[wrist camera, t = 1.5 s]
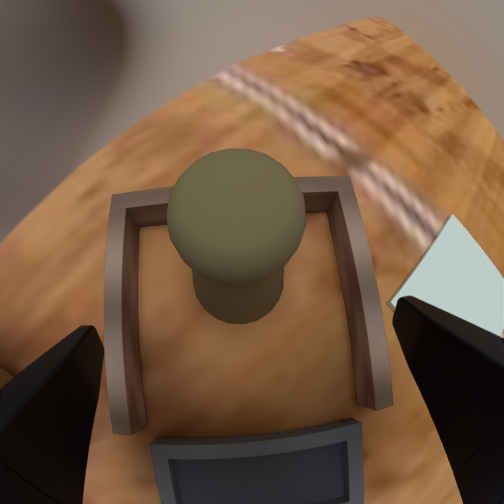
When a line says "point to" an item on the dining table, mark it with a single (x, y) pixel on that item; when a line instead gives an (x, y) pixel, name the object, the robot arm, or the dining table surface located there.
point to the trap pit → (264, 467)
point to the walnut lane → (126, 294)
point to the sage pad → (458, 279)
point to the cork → (236, 230)
